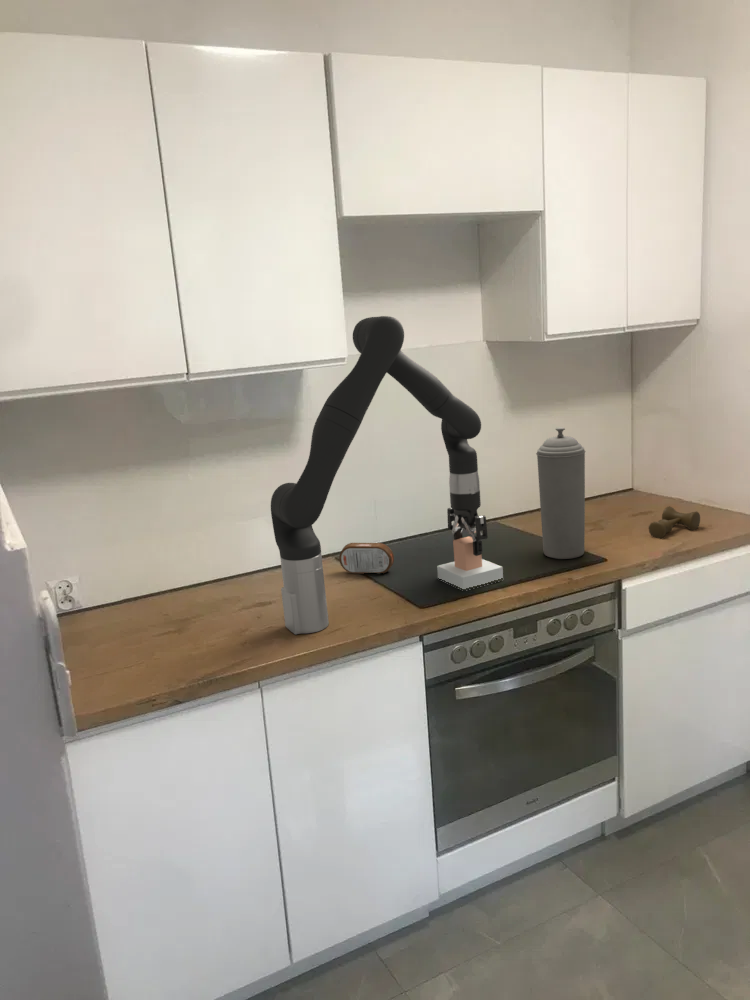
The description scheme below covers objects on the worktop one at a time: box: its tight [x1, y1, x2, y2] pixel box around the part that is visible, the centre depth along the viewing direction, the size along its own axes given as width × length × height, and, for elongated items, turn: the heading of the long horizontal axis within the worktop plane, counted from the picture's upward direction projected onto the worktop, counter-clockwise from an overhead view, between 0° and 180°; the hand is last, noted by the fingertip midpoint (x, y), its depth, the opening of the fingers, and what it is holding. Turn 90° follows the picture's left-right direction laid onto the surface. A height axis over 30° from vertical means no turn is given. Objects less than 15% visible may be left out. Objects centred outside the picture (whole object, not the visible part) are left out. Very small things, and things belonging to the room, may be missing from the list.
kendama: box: [648, 505, 701, 540], centre depth 228 cm, size 6×10×20 cm
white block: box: [436, 558, 504, 589], centre depth 201 cm, size 12×12×4 cm
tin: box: [338, 542, 395, 575], centre depth 213 cm, size 15×3×8 cm, turn 74°
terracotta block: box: [452, 535, 483, 571], centre depth 200 cm, size 5×5×7 cm
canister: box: [535, 426, 586, 560], centre depth 211 cm, size 13×13×35 cm
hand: (468, 551), depth 200 cm, fingers open, 8 cm apart
